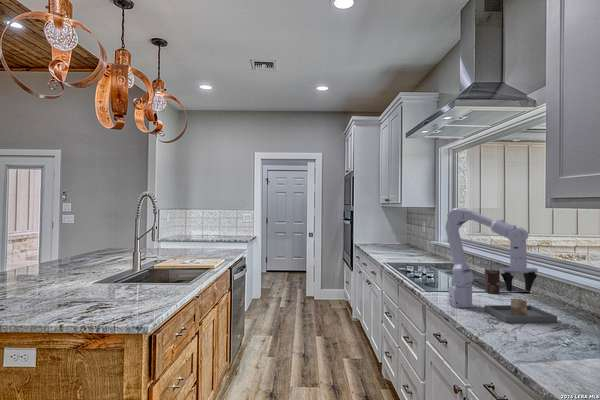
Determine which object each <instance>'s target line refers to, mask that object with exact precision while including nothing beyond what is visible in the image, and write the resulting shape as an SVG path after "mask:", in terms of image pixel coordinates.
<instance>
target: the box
mask: <svg viewBox="0 0 600 400" xmlns="http://www.w3.org/2000/svg"><path fill="white" fill-rule="evenodd" d="M500 275H501V273H500V269H496V268H484V292H485V293H486V292H487V293H486V294H500V286H501V285H500V284H501V283H500V282H501V281H500V279H501V278H500V277H501V276H500Z"/></svg>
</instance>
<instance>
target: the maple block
mask: <svg viewBox="0 0 600 400" xmlns="http://www.w3.org/2000/svg"><path fill="white" fill-rule="evenodd" d="M527 303H528V302H527V300H525V299H522V298H510V305H511V313H512V314H514V315H516V316H527V305H528V304H527Z"/></svg>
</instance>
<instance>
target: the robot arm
mask: <svg viewBox="0 0 600 400" xmlns="http://www.w3.org/2000/svg"><path fill="white" fill-rule="evenodd" d="M446 217H447V218H446V223H445V233H446V236H447V239H448V245H449V249H450V254H451V258H452V262H453V267H452V277H451V278H452V279H451V280H452V282H453V284H454V285H450V286H449V287H448V301H447V303H448V304H449V305H451V306H452V307H454V308H477V306H476V305H474V304H473V285H472V283H473V282H474V281H475V274H474V273H473V271H472V270H471V267H470V265H468V263H467V260H466V256H465V252H464V247H463V243H462V239H461V235H460V231H459V230H460V228H461V227H462V225H463V224H465V223H467V222H469V221H473V222H475V223H479V224H482V225H484V226H486V227H489V228H490V230H491V231H492V232H493V233H495V234H497V235H499V236H502V237H504V238H507V239H508V241H510V247H509V248H510V250H509V251H510V252H509V255H510V256H509V259H510V260H509V261H510V263H509V264H510V267H499V271H500V275H501V276H500V277H502V280H503V281H504V283H505V287H506V291H508V292H510V293H511V292H512V291H513V279H514V275H513V274H522V275H523V277H524V289H525V291H527V292H531V289H532V287H533V284H534V282H535V280H536V279H537V276H538V268H537V267H527V239H528V238H529V233H528V231H527V230H526V229H524V228H523V227H517V225H516V224H513V225H512V224H511V223H509V222H506V220H505V219H496V220H493V219H491V218H489V217H488V216H485V215H483V214H481V213H479V212H476V211H475V210H472V209H468V208H466V207H463V208H457V207H454V208H452V209H450V211H448V213H447V214H446Z"/></svg>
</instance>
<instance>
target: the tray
mask: <svg viewBox="0 0 600 400" xmlns="http://www.w3.org/2000/svg"><path fill="white" fill-rule="evenodd" d="M484 312H485V313H487V314H489V315H491V316H493V317H494V318H496V319H498V320H499V321H501V322H503V323H506V324H546V323H547V324H548V323H549V324H552V323H553V324H555V323H556V324H557V323H558V316H557V315H555V314H553V313H551V312H548V311H545V310H543V309H541V308H539V307H535V306H534V305H532V304H527V316H516V315H514V314H512V313H511V304H505V305H504V304H492V305H491V304H490V305H489V304H484Z"/></svg>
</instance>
